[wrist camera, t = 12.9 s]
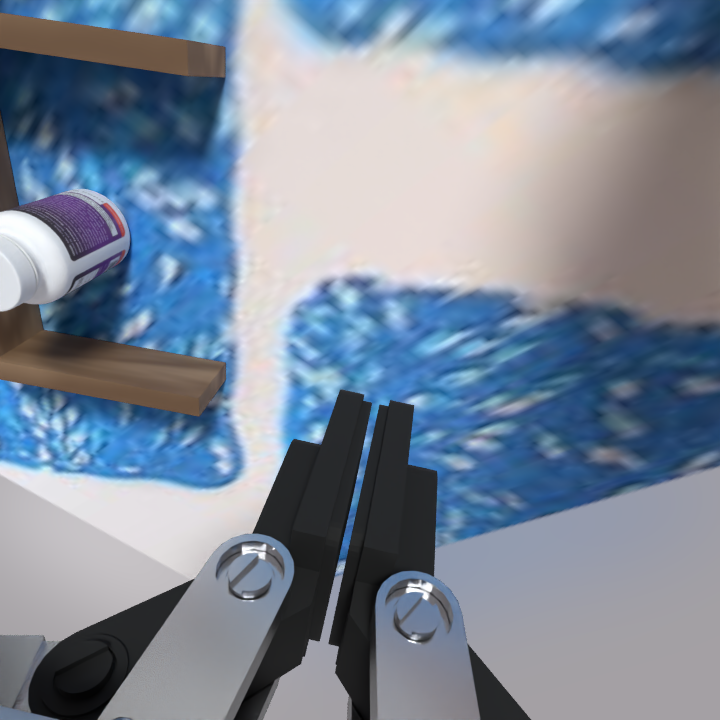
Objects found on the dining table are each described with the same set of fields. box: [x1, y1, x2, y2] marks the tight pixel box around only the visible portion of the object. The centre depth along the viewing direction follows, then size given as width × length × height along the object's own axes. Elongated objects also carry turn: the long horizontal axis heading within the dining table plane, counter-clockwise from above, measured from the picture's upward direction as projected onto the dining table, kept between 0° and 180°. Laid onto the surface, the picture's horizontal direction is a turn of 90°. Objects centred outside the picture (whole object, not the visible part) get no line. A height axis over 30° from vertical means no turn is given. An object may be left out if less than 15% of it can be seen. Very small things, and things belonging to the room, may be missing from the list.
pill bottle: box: [0, 189, 130, 311], centre depth 30 cm, size 5×5×10 cm
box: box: [0, 13, 226, 416], centre depth 32 cm, size 22×16×5 cm
